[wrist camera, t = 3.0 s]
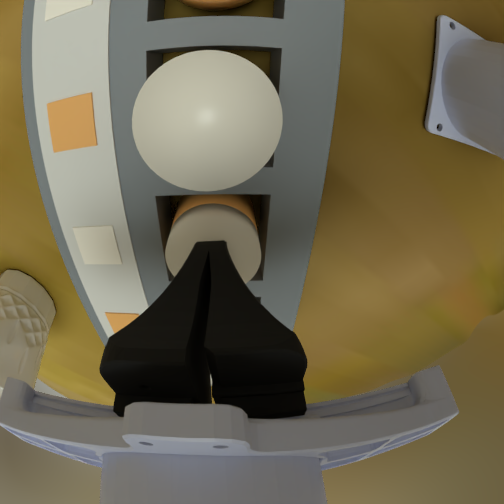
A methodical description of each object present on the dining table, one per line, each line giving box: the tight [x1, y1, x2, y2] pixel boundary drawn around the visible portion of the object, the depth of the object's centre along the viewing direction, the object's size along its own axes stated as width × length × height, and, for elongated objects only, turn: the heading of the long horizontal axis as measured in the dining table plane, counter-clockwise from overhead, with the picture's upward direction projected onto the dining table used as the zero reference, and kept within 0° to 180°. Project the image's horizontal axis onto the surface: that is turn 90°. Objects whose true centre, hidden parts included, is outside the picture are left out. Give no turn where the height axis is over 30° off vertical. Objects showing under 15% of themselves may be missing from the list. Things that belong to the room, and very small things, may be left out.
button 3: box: [165, 194, 261, 284], centre depth 15 cm, size 4×4×4 cm
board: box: [21, 0, 345, 346], centre depth 13 cm, size 14×26×3 cm, turn 177°
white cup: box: [0, 270, 56, 398], centre depth 15 cm, size 8×8×10 cm
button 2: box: [132, 50, 283, 191], centre depth 9 cm, size 4×4×4 cm
